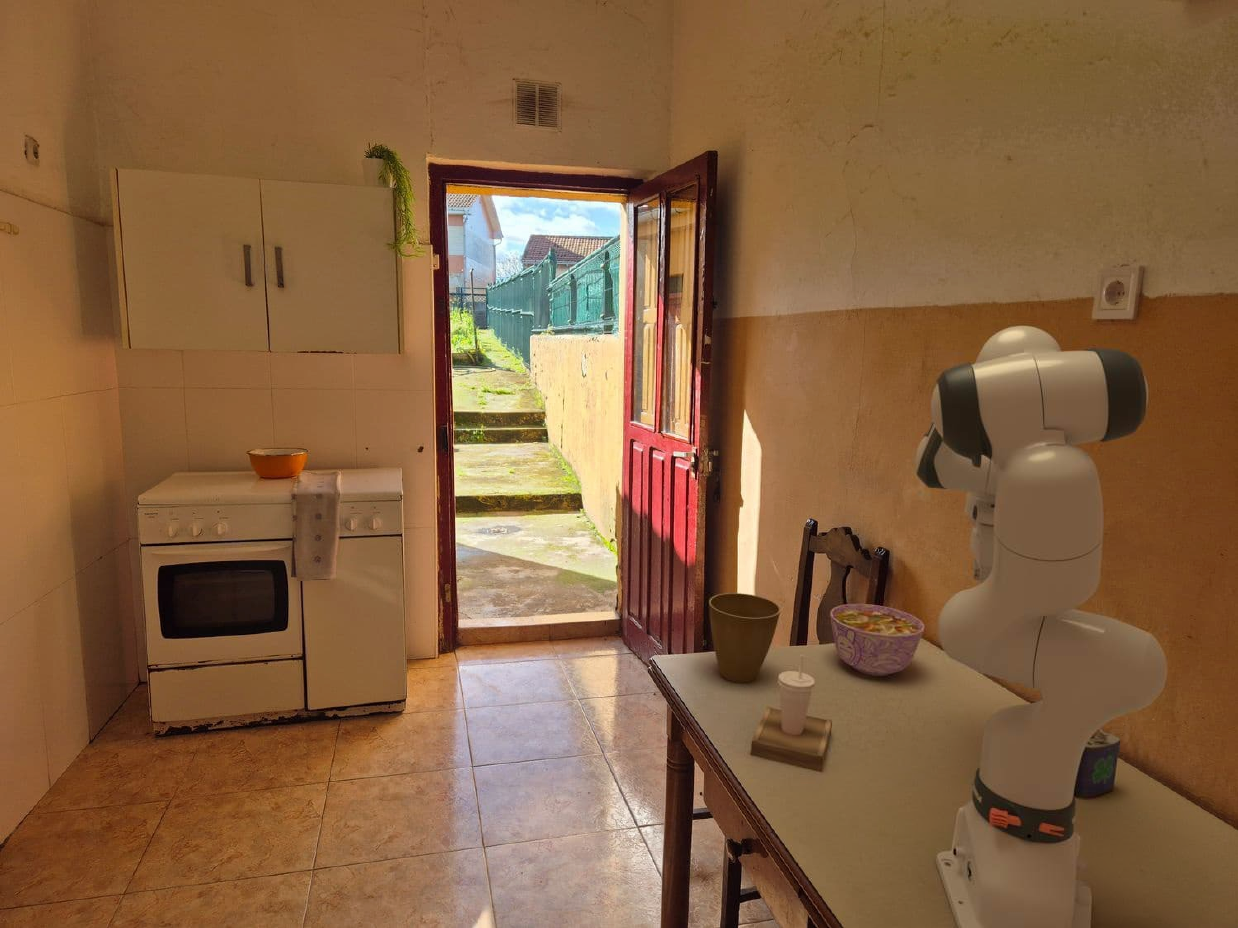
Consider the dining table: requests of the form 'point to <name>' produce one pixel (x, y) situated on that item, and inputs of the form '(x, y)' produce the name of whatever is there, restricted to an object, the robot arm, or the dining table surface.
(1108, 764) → the flask
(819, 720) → the board
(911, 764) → the dining table surface
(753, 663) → the plant pot
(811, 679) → the smoothie
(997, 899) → the robot arm
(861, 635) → the bowl of food
